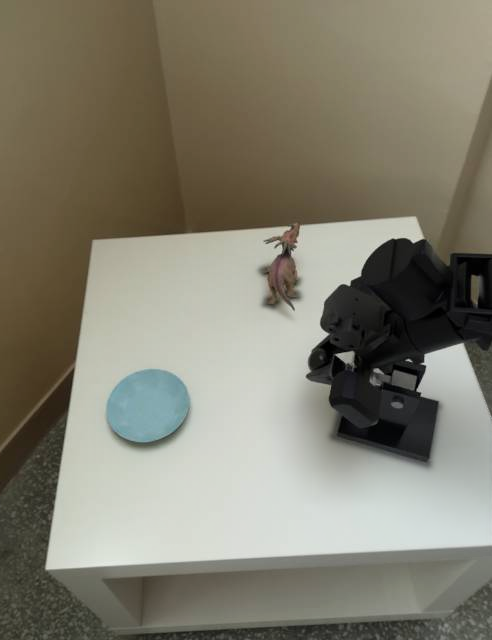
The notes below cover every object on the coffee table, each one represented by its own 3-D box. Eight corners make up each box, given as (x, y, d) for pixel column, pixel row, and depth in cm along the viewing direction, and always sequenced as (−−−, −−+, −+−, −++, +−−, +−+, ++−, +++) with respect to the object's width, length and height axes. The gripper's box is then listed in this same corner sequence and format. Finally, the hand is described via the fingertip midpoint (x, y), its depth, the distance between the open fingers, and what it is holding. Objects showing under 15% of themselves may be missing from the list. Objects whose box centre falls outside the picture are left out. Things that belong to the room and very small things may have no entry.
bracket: (336, 436, 72) (346, 394, 63) (351, 382, 77) (362, 336, 67) (426, 462, 69) (451, 423, 60) (436, 405, 74) (461, 360, 64)
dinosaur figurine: (263, 257, 92) (263, 215, 84) (298, 257, 91) (300, 215, 83) (261, 319, 84) (261, 280, 76) (299, 320, 84) (302, 280, 76)
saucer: (94, 429, 75) (89, 422, 73) (136, 366, 81) (133, 357, 79) (165, 461, 72) (163, 455, 70) (205, 392, 77) (203, 384, 76)
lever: (302, 377, 68) (305, 362, 65) (310, 355, 70) (313, 339, 67) (406, 407, 65) (414, 393, 62) (411, 383, 67) (419, 368, 64)
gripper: (383, 222, 58) (282, 276, 70) (361, 359, 49) (249, 396, 60) (439, 281, 63) (336, 322, 75) (429, 417, 54) (313, 440, 65)
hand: (310, 365), depth 68 cm, fingers closed on lever, 3 cm apart
